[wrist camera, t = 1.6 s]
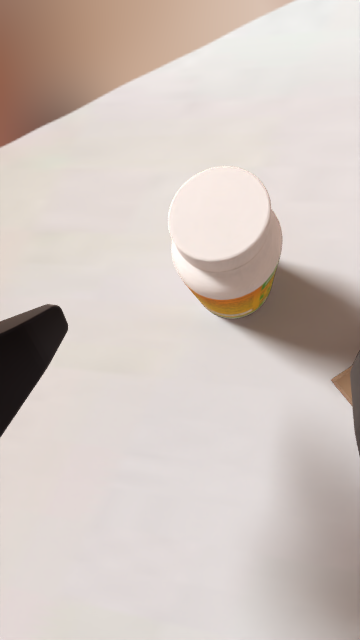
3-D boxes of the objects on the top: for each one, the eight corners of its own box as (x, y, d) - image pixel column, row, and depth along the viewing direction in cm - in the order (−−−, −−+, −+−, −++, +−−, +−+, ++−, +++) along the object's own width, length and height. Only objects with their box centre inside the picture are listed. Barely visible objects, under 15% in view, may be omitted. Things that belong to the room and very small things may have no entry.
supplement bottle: (271, 320, 18) (293, 278, 9) (195, 319, 20) (146, 282, 10) (271, 246, 19) (292, 136, 10) (198, 250, 20) (154, 158, 11)
